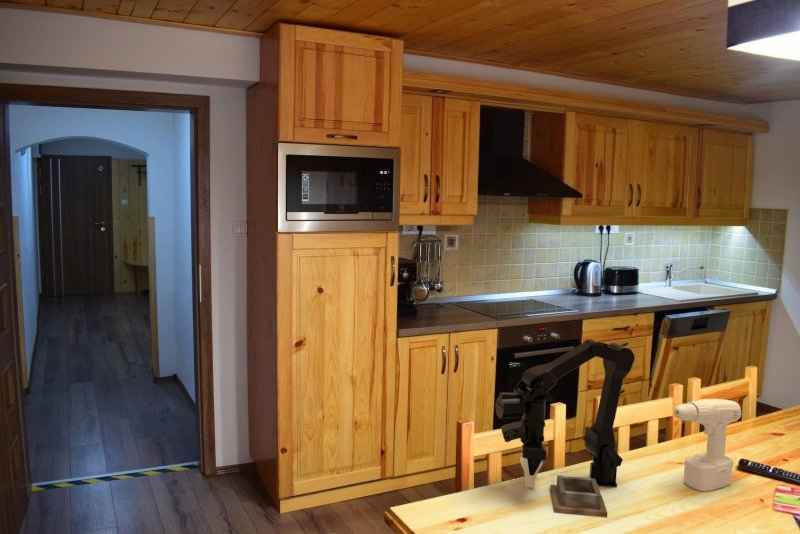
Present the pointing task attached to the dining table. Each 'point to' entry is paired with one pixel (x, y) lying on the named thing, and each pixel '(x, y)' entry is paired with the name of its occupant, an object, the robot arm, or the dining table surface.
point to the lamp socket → (577, 496)
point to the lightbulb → (528, 478)
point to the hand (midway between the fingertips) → (530, 470)
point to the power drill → (709, 442)
